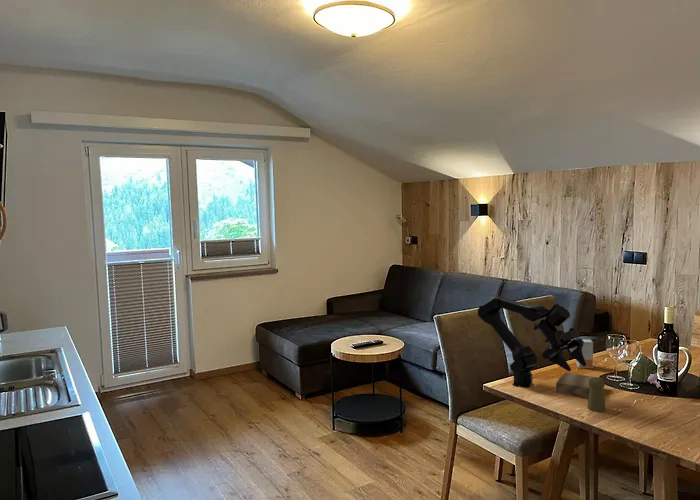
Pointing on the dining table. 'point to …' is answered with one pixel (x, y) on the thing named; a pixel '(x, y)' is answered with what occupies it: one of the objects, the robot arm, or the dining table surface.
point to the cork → (596, 395)
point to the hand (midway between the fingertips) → (577, 368)
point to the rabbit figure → (654, 380)
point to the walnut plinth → (574, 385)
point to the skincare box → (587, 354)
